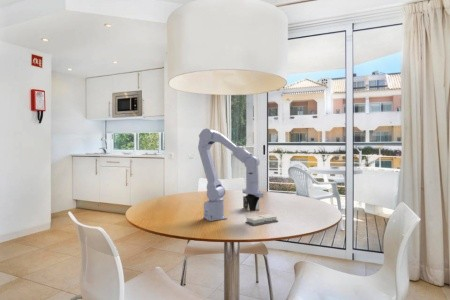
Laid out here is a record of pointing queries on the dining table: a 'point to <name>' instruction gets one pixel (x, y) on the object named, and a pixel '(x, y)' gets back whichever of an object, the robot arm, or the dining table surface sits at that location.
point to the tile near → (255, 219)
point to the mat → (262, 222)
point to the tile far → (268, 217)
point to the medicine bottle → (246, 205)
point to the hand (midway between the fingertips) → (252, 210)
